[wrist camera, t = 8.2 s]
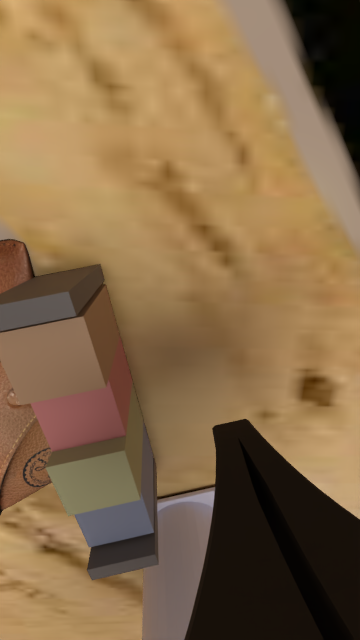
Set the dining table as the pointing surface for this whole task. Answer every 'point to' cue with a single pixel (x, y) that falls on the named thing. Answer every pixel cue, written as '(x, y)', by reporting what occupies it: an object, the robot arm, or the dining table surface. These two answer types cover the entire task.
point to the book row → (85, 412)
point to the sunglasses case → (18, 406)
